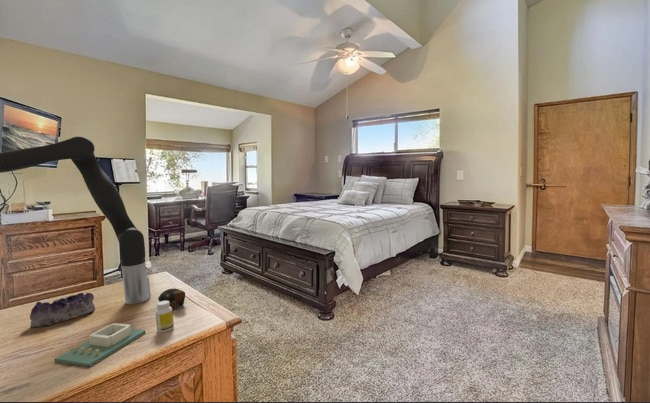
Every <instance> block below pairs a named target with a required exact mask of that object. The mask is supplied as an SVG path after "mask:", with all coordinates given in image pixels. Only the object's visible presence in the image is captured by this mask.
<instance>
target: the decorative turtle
mask: <svg viewBox="0 0 650 403" xmlns="http://www.w3.org/2000/svg"><path fill="white" fill-rule="evenodd" d="M157 299H158V301H159V302H161V301H169V304H170V305H169V306H170V307H172V311H174V310H175V309H176V307H177V306H181V307H182V306H183V305H184V304H185V299H186V292H185V291H184V290H182V289H180V288H169V289H166V290H164V291H162V292H161V293H160V294H159V296H158V298H157ZM159 302H158V303H159Z"/></svg>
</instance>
